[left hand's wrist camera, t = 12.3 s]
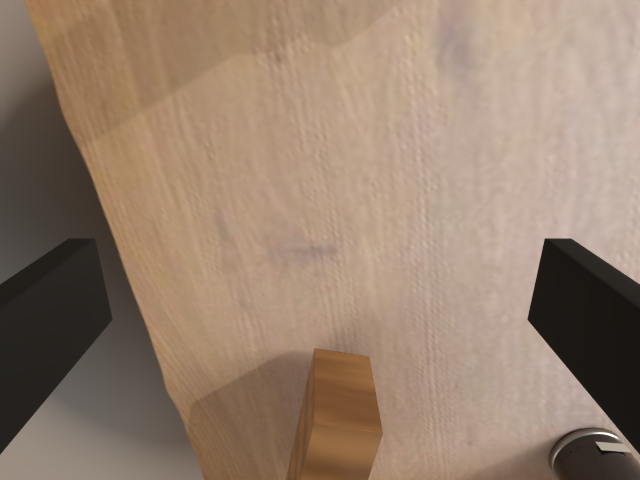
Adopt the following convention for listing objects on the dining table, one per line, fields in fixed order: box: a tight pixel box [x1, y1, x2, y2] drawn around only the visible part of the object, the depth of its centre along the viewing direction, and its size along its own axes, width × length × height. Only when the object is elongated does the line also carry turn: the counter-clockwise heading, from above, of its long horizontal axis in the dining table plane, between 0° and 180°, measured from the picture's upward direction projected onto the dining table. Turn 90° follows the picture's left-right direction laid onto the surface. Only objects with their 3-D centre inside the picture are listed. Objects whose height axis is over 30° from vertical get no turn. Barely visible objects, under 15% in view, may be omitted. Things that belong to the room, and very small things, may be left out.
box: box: [286, 348, 383, 480], centre depth 45 cm, size 21×6×11 cm, turn 170°
